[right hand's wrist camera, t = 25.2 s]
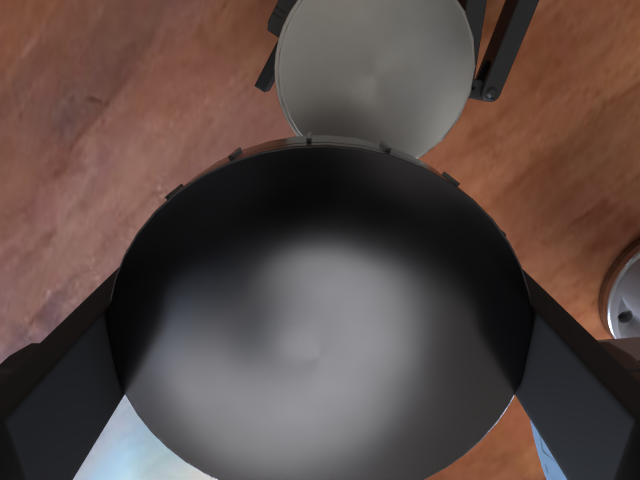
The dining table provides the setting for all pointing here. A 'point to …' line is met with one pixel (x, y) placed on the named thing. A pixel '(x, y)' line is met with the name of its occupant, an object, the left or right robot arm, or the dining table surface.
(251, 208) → the lid
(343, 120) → the jar
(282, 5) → the left robot arm
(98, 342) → the right robot arm
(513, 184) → the dining table surface
